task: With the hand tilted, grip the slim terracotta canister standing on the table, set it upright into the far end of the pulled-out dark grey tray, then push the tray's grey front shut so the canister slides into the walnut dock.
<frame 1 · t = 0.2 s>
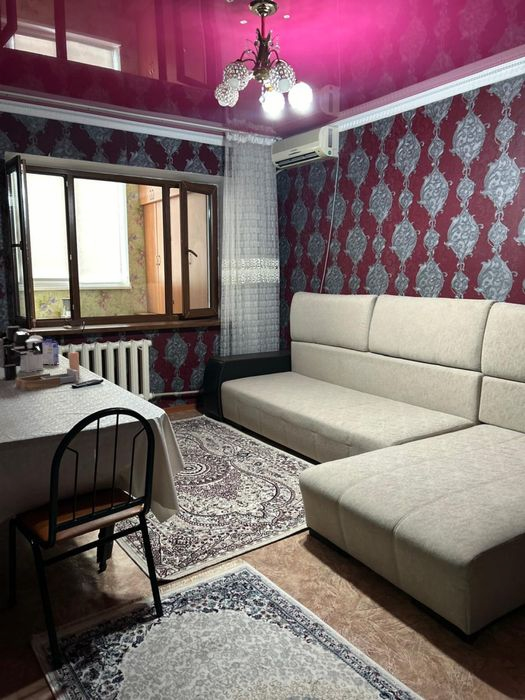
hand: (30, 352, 257), 17 cm above the table, tool horizontal, fingers open, 9 cm apart
dock: (41, 385, 264), on the table
supplement box: (31, 370, 298), on the table
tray: (58, 376, 269), point 3 cm above the table, slide at 8.0 cm
canister: (74, 376, 283), on the table
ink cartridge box: (49, 364, 315), on the table
french press: (38, 360, 326), on the table
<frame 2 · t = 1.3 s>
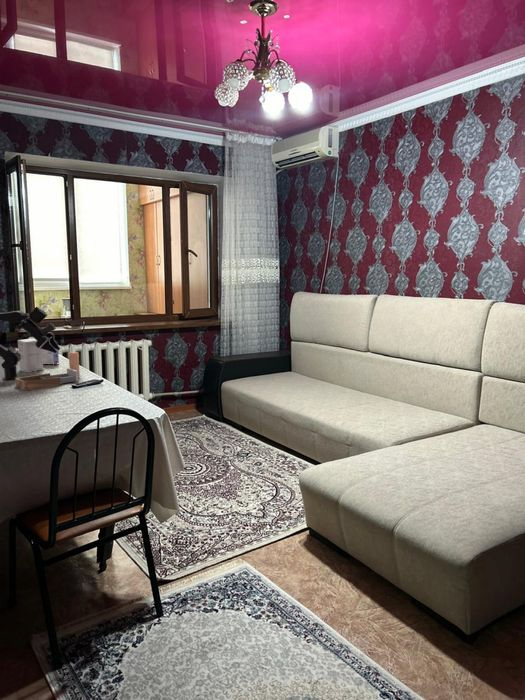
hand: (58, 350, 279), 14 cm above the table, tool tilted 45°, fingers open, 9 cm apart
nothing on the table moved.
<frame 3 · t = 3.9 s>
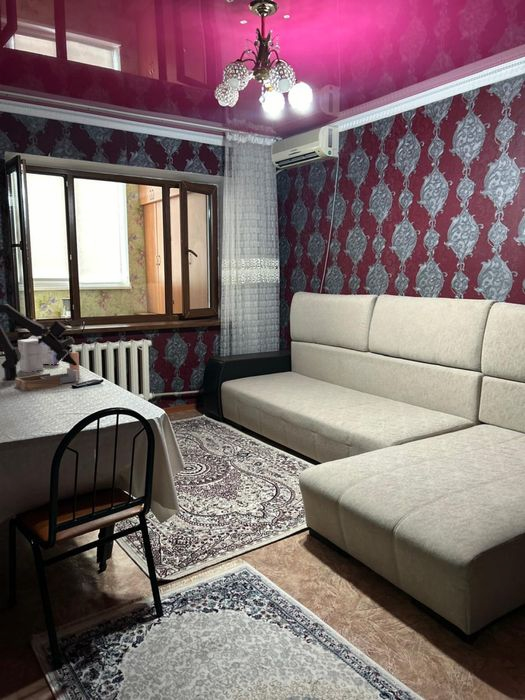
hand: (77, 363, 282), 7 cm above the table, tool tilted 45°, fingers closed on canister, 5 cm apart
canister: (74, 376, 283), on the table, touching gripper
everything else where it was.
when the fingers open (9 cm above the table, at t = 8.1 s): canister drops 1 cm, resting on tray.
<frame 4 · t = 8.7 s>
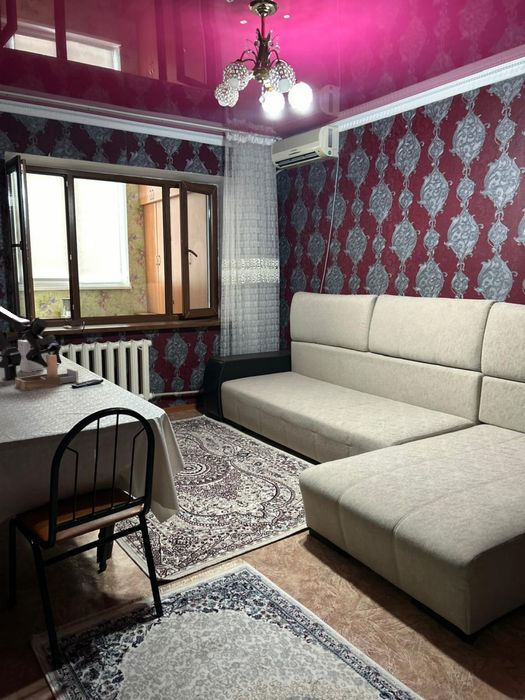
hand: (54, 364, 265), 9 cm above the table, tool tilted 45°, fingers open, 9 cm apart
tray: (58, 376, 269), point 3 cm above the table, slide at 8.0 cm, touching canister
canister: (52, 380, 267), point 1 cm above the table, touching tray
everything else where it was.
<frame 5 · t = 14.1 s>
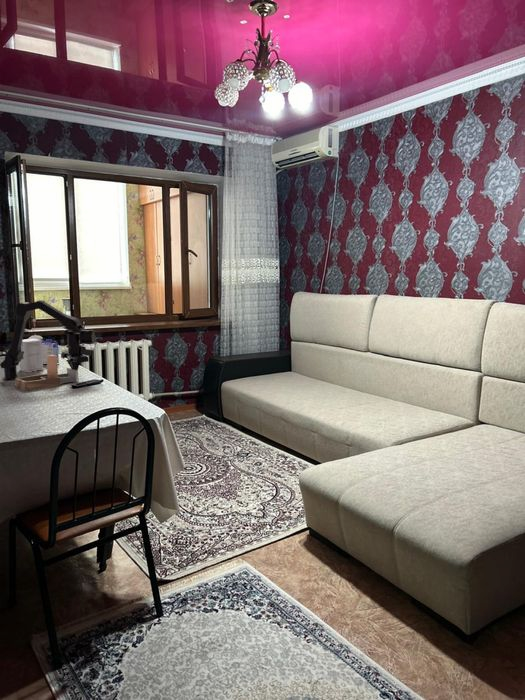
hand: (75, 373, 276), 3 cm above the table, tool pointing down, fingers closed, pressing on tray
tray: (58, 376, 269), point 3 cm above the table, slide at 8.0 cm, touching canister, gripper
everything else where it was.
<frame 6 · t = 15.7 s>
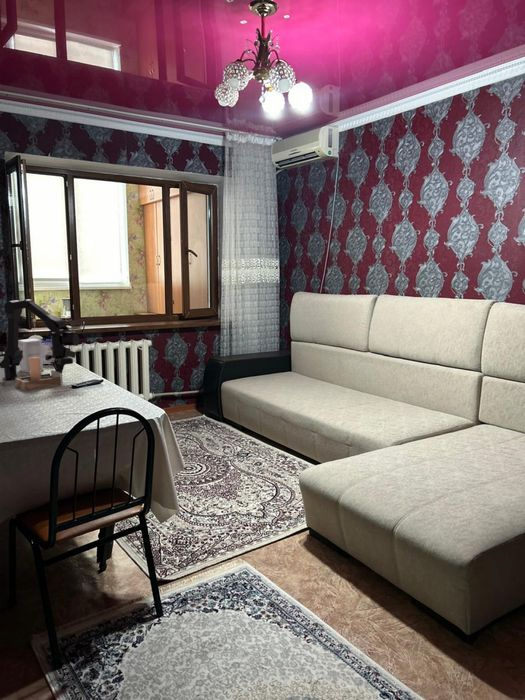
hand: (59, 376, 270), 3 cm above the table, tool pointing down, fingers closed, pressing on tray
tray: (42, 379, 263), point 3 cm above the table, slide at -0.1 cm, touching canister, gripper
canister: (36, 383, 262), point 1 cm above the table, touching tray
everything else where it was.
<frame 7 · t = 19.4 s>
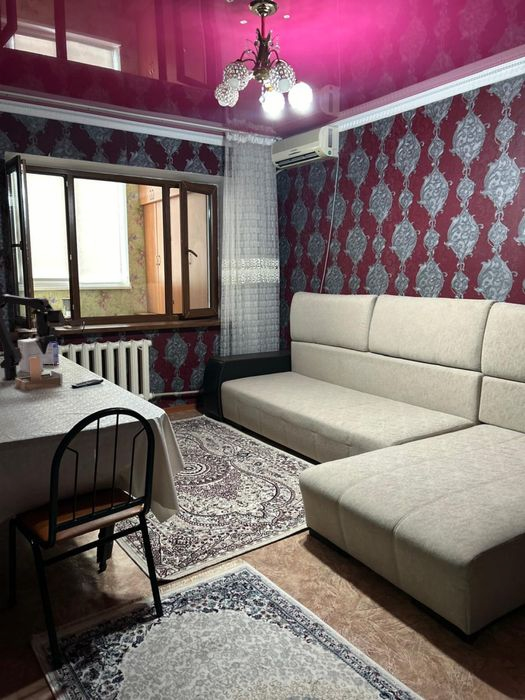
hand: (44, 354, 274), 13 cm above the table, tool pointing down, fingers closed
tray: (42, 378, 263), point 3 cm above the table, slide at 0.0 cm, touching canister
everything else where it was.
at the end: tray slide at 0.0 cm; canister inside the target area (0.5 cm from its centre), point 1.3 cm above the table; canister tilted 1° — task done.
